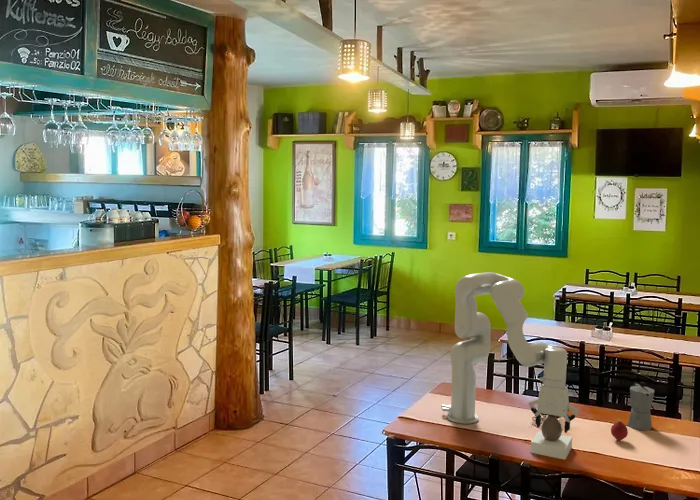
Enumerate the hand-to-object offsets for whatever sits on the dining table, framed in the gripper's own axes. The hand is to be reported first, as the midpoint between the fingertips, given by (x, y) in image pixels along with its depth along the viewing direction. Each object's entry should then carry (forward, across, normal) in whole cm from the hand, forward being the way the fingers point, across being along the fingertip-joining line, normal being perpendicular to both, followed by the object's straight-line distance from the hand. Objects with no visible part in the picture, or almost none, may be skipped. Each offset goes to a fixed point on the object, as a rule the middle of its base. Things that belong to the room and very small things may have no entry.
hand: (552, 429), depth 238 cm
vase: (+4, 0, 0) cm, 4 cm away
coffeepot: (+8, +25, +43) cm, 50 cm away
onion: (+8, +20, +22) cm, 31 cm away
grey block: (+8, 0, 0) cm, 8 cm away
